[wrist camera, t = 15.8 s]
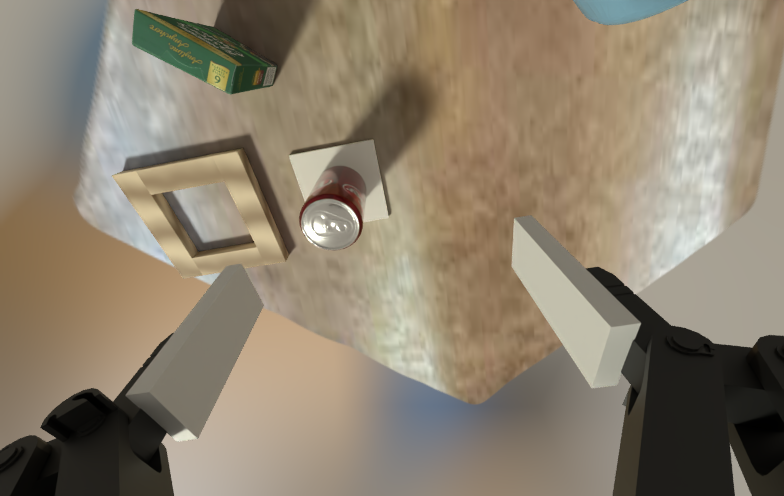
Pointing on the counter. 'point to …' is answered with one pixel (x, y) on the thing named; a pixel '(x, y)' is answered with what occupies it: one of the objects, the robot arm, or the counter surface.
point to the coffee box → (202, 52)
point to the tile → (349, 155)
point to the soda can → (334, 209)
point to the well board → (208, 169)
